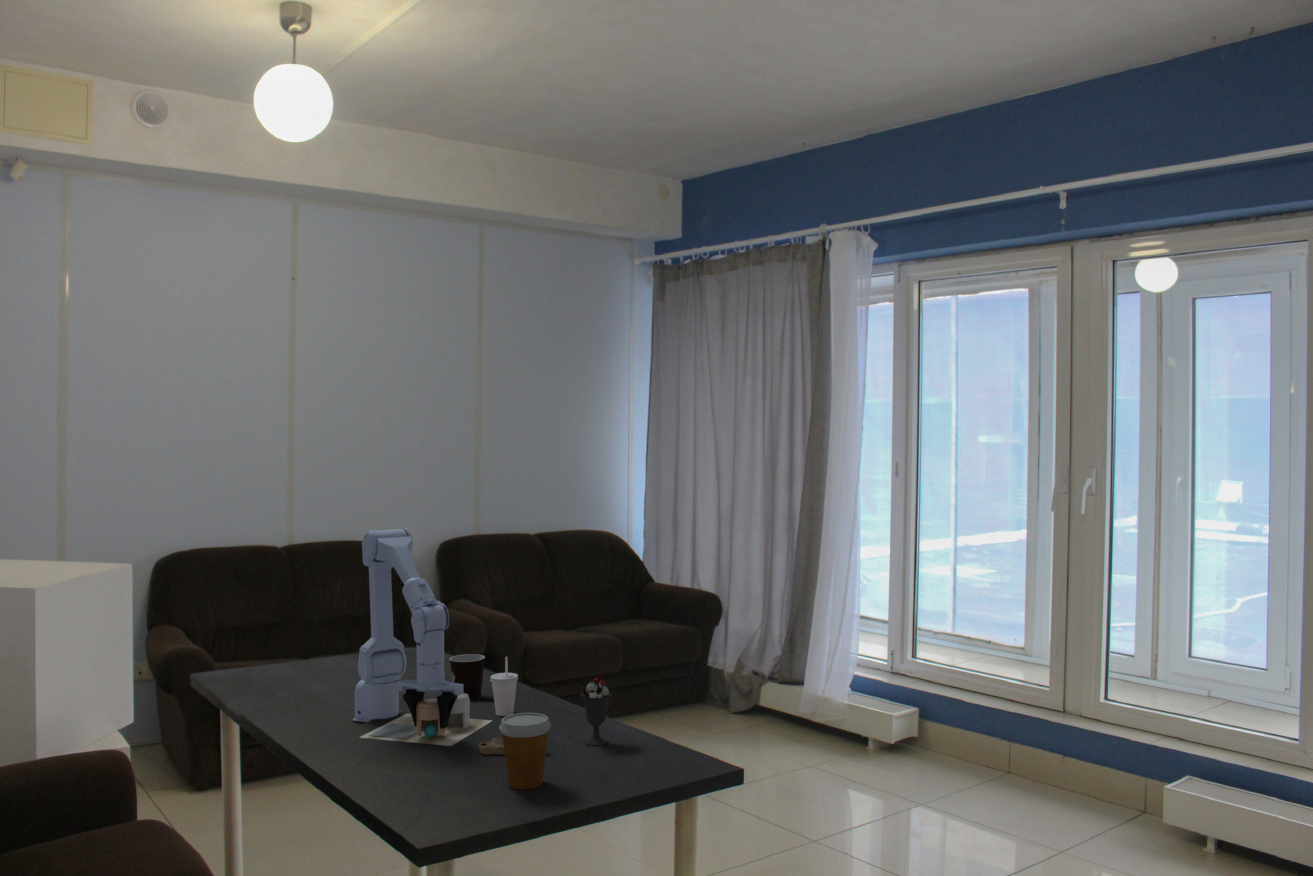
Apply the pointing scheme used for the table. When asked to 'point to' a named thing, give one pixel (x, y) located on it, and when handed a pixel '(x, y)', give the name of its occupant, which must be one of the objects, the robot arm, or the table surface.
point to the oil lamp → (492, 746)
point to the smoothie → (504, 691)
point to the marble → (431, 730)
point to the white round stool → (461, 711)
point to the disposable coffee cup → (525, 748)
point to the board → (407, 732)
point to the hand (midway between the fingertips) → (430, 726)
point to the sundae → (596, 708)
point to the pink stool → (427, 715)
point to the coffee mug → (468, 673)
